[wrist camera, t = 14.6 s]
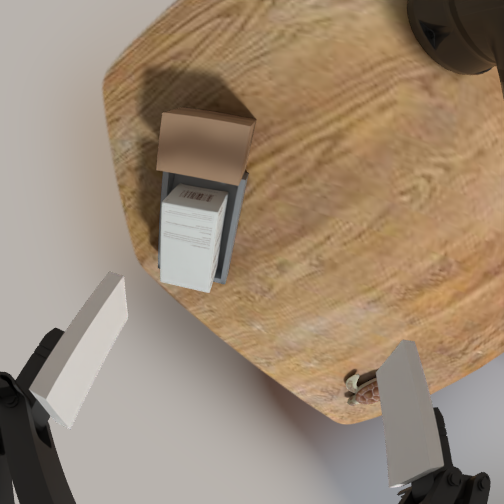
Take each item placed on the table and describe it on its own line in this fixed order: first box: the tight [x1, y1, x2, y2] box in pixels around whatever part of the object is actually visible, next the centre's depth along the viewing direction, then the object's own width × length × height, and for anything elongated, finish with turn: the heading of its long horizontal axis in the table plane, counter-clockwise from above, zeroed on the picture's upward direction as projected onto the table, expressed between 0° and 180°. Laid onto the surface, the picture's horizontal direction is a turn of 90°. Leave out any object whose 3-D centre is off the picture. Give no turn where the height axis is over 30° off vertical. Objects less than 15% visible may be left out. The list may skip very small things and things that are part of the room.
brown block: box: [156, 107, 256, 186], centre depth 34 cm, size 7×10×7 cm
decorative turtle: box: [346, 374, 380, 406], centre depth 61 cm, size 18×17×5 cm
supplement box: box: [160, 183, 229, 292], centre depth 40 cm, size 7×7×13 cm
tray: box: [158, 171, 249, 284], centre depth 42 cm, size 17×11×3 cm, turn 169°
